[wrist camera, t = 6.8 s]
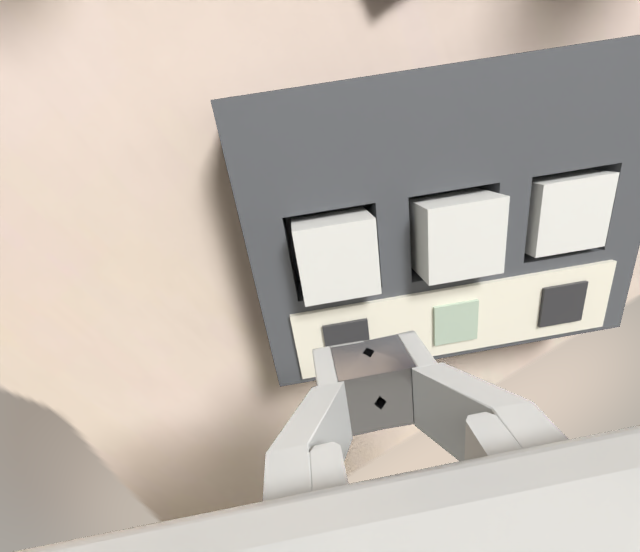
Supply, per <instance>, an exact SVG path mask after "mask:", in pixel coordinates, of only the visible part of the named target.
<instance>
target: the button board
mask: <svg viewBox="0 0 640 552" xmlns="http://www.w3.org/2000/svg"><path fill="white" fill-rule="evenodd" d="M211 104H212V108H213V112H214V117H215V121H216V125H217V129H218V133H219V137H220V141H221V145H222V150H223V154H224V158H225V162H226V166H227V170H228V174H229V178H230V183H231V187H232V191H233V195H234V199H235V203H236V207H237V211H238V216H239V220H240V224H241V228H242V232H243V236H244V240H245V244H246V249H247V253H248V257H249V261H250V265H251V269H252V273H253V277H254V282H255V286H256V290H257V294H258V298H259V302H260V306H261V310H262V315H263V319H264V323H265V327H266V331H267V335H268V339H269V343H270V348H271V352H272V356H273V360H274V364H275V368H276V372H277V376H278V381H279V385H280V386H286V385H292V384H297V383H303V382H309V381H314V380H316V376H315V368H314V361H313V354H312V350H313V349H316V348H322V347H327V346H329V347H330V346H333V345H339V344H345V343H351V342H358V341H366V340H371V339H376V338H381V337H386V336H391V335H396V334H399V333H403V332H408V331H412V330H413V331H415V332H416V334H417V335H418V336H419V338H420V339H421V341H422V342H423V343H424V345H425V346H426V348H427V349H428V350H429V352H430V353H431V355H432V356H433V357H434V359H439V358H445V357H451V356H456V355H462V354H468V353H473V352H479V351H485V350H490V349H496V348H502V347H507V346H513V345H519V344H525V343H530V342H536V341H542V340H547V339H553V338H559V337H564V336H570V335H576V334H581V333H586V332H592V331H598V330H604V329H610V328H615V327H620V323H621V319H622V315H623V310H624V307H625V303H626V298H627V294H628V290H629V286H630V282H631V278H632V274H633V270H634V266H635V262H636V258H637V253H638V249H639V245H640V35H634V36H628V37H621V38H615V39H608V40H602V41H595V42H588V43H582V44H575V45H569V46H562V47H556V48H549V49H543V50H536V51H529V52H523V53H516V54H510V55H503V56H497V57H490V58H484V59H477V60H470V61H464V62H457V63H451V64H444V65H438V66H431V67H425V68H418V69H411V70H405V71H398V72H392V73H385V74H379V75H372V76H365V77H359V78H352V79H346V80H339V81H333V82H326V83H320V84H313V85H306V86H300V87H293V88H287V89H280V90H274V91H267V92H261V93H254V94H247V95H241V96H234V97H228V98H221V99H215V100H211ZM580 169H591V170H601V171H610V172H620V173H619V178H618V183H617V188H616V193H615V198H614V203H613V208H612V213H611V218H610V223H609V228H608V233H607V238H606V243H605V246H603V247H598V248H592V249H586V250H580V251H574V252H568V253H562V254H556V255H550V256H544V257H539V258H534V257H532V256H530V255H528V254H526V253H525V244H526V234H527V225H528V215H529V205H530V196H531V186H532V177H537V176H543V175H549V174H555V173H561V172H568V171H574V170H580ZM472 188H480V189H484V190H488V191H492V192H496V193H500V194H503V195H507V196H510V203H509V215H508V228H507V241H506V253H505V266H504V273H502V274H496V275H490V276H484V277H478V278H472V279H466V280H460V281H455V282H449V283H443V284H437V285H431V286H429V285H428V284H427V283H426V282H425V281H424V280H423V279H422V278H421V277H420V276H419V275H418V274H417V273H416V272H415V271H414V270H413V269H412V268H411V249H410V223H409V199H410V198H417V197H423V196H429V195H435V194H441V193H447V192H453V191H460V190H466V189H472ZM361 206H363V207H364V208H365V209H366V210H367V211H368V212H369V213H371V214H372V215H373V216H374V217H375V218H376V228H377V241H378V253H379V266H380V279H381V291H382V294H378V295H372V296H366V297H361V298H355V299H349V300H343V301H337V302H331V303H325V304H319V305H314V306H308V307H305V302H304V297H303V292H302V286H301V281H300V275H299V270H298V264H297V259H296V253H295V248H294V242H293V237H292V229H291V218H294V217H300V216H306V215H312V214H318V213H324V212H331V211H337V210H343V209H349V208H355V207H361Z"/></svg>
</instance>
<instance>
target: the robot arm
mask: <svg viewBox="0 0 640 552" xmlns="http://www.w3.org/2000/svg"><path fill="white" fill-rule="evenodd" d="M312 354H313V361H314V368H315V376H316V383H317V386H315V387H312V388H311V389H310V391H309V392H308V393H307V395H306V396H305V398H304V399H303V401H302V402H301V403H300V405H299V406H298V408H297V409H296V411H295V412H294V413H293V415H292V416H291V418H290V419H289V421H288V422H287V423H286V425H285V426H284V428H283V429H282V431H281V432H280V433H279V435H278V436H277V438H276V439H275V441H274V442H273V443H272V445H271V446H270V448H269V449H268V451H267V452H266V456H265V472H264V488H263V501H262V502H257V503H252V504H247V505H242V506H237V507H232V508H227V509H222V510H217V511H212V512H207V513H202V514H197V515H192V516H187V517H182V518H177V519H173V520H168V521H163V522H158V523H153V524H148V525H143V526H138V527H133V528H128V529H123V530H119V531H113V532H108V533H103V534H98V535H94V536H89V537H83V538H78V539H73V540H68V541H63V542H59V543H53V544H49V545H44V546H39V547H34V548H29V549H24V550H19V551H14V552H640V425H638V426H633V427H628V428H623V429H618V430H614V431H609V432H604V433H599V434H594V435H589V436H584V437H579V438H574V439H568V438H567V437H566V436H565V434H563V432H562V431H561V430H560V429H559V428H558V427H557V426H556V425H555V424H554V423H553V422H552V421H551V420H550V419H549V418H548V417H547V416H546V415H545V414H544V413H543V412H542V411H541V409H540V408H539V407H538V406H537V405H536V404H535V403H534V402H533V401H531V400H528V399H526V398H524V397H521V396H519V395H516V394H515V393H512V392H510V391H507V390H505V389H503V388H501V387H498V386H496V385H494V384H491V383H489V382H487V381H485V380H482V379H480V378H478V377H475V376H473V375H471V374H468V373H466V372H464V371H461V370H459V369H457V368H455V367H452V366H450V365H448V364H445V363H443V362H442V363H437V362H436V360H435V359H434V357H433V356H432V355H431V353H430V352H429V350H428V349H427V348H426V346H425V345H424V343H423V342H422V341H421V339H420V338H419V336H418V335H417V334H416V332H415V331H413V330H412V331H408V332H403V333H399V334H396V335H391V336H386V337H381V338H376V339H371V340H366V341H358V342H351V343H345V344H339V345H333V346H330V347H329V346H327V347H322V348H316V349H313V350H312ZM411 424H415V426H416V427H417V428H418V429H420V430H421V431H422V432H423V433H425V434H426V435H427V436H428V437H430V438H431V439H432V440H434V441H435V442H436V443H437V444H439V445H440V446H441V447H442V448H444V449H445V450H446V451H448V452H449V453H450V454H451V455H453V456H454V457H455V458H456V459H457V460H459V462H454V463H449V464H444V465H440V466H435V467H430V468H425V469H420V470H415V471H410V472H405V473H400V474H395V475H390V476H386V477H380V478H375V479H370V480H366V481H361V482H356V483H351V484H348V479H347V474H346V470H345V465H344V460H345V458H346V455H347V452H348V449H349V447H350V444H351V441H352V439H353V437H352V436H355V435H359V434H364V433H368V432H373V431H377V430H382V429H387V428H393V427H399V426H405V425H411Z"/></svg>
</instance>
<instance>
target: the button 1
mask: <svg viewBox="0 0 640 552" xmlns="http://www.w3.org/2000/svg"><path fill="white" fill-rule="evenodd" d="M291 229H292V237H293V242H294V248H295V253H296V259H297V264H298V270H299V275H300V281H301V286H302V292H303V297H304V302H305V307H308V306H314V305H319V304H325V303H331V302H337V301H343V300H349V299H355V298H361V297H366V296H372V295H378V294H382V291H381V279H380V266H379V253H378V241H377V228H376V218H375V217H374V216H373V215H372V214H371V213H369V212H368V211H367V210H366V209H365V208H364V207H363V206H361V207H355V208H349V209H343V210H337V211H331V212H324V213H318V214H312V215H306V216H300V217H294V218H291Z"/></svg>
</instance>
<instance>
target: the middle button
mask: <svg viewBox="0 0 640 552" xmlns="http://www.w3.org/2000/svg"><path fill="white" fill-rule="evenodd" d="M509 203H510V196H507V195H503V194H500V193H496V192H492V191H488V190H484V189H480V188H472V189H466V190H460V191H453V192H447V193H441V194H435V195H429V196H423V197H417V198H410V199H409V223H410V249H411V268H412V269H413V270H414V271H415V272H416V273H417V274H418V275H419V276H420V277H421V278H422V279H423V280H424V281H425V282H426V283H427V284H428V285H429V286H431V285H437V284H443V283H449V282H455V281H460V280H466V279H472V278H478V277H484V276H490V275H496V274H502V273H504V266H505V253H506V241H507V228H508V215H509Z"/></svg>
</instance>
